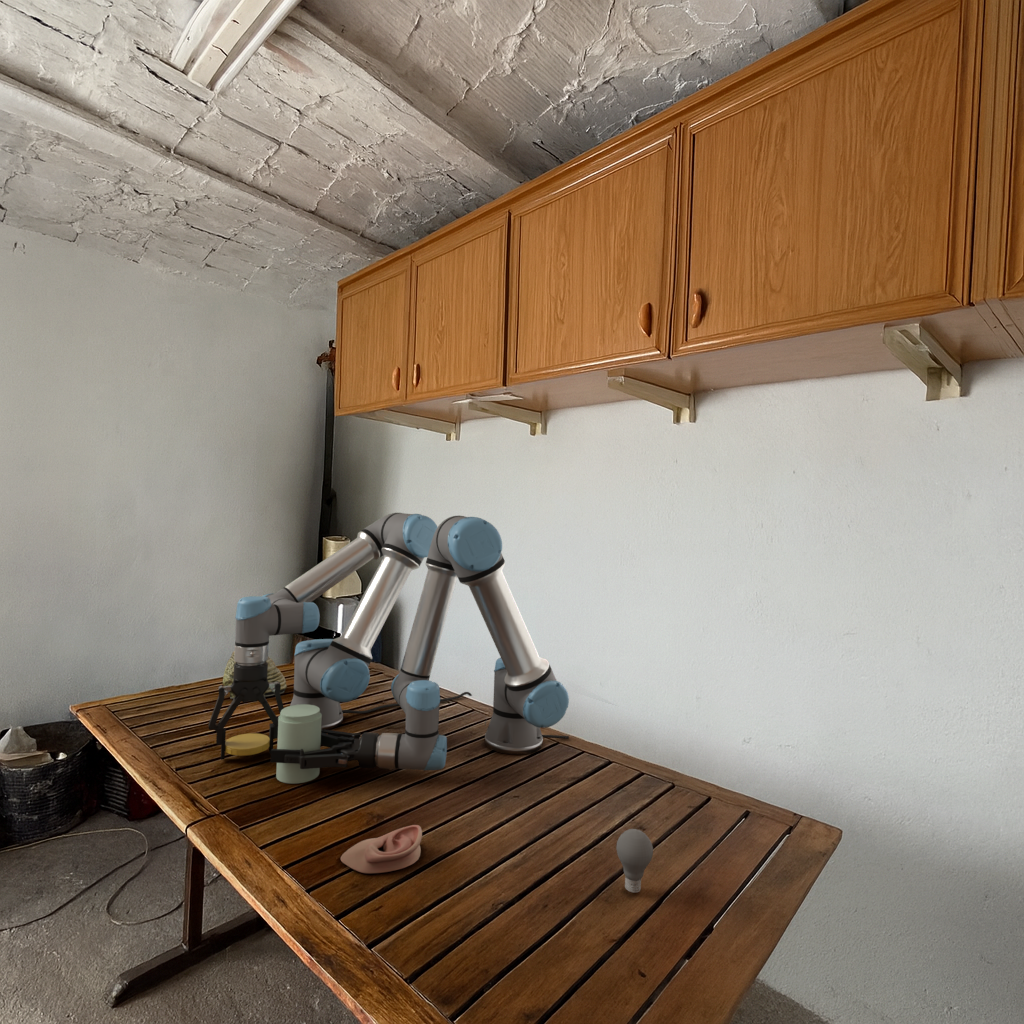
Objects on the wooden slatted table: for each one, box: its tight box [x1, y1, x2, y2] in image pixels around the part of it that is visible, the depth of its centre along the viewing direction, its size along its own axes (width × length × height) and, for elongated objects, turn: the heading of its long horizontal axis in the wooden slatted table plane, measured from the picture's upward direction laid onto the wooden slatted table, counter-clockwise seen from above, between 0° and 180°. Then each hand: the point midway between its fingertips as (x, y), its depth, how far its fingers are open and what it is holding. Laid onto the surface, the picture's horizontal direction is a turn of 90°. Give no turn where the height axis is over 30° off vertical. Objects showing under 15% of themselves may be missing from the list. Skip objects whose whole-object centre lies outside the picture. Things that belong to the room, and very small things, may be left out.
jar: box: [275, 704, 322, 785], centre depth 144 cm, size 9×9×15 cm
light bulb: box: [615, 828, 654, 894], centre depth 106 cm, size 6×6×10 cm
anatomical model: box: [340, 824, 423, 874], centre depth 112 cm, size 13×4×12 cm
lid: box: [225, 732, 270, 757], centre depth 152 cm, size 10×10×2 cm
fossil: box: [222, 650, 288, 699], centre depth 198 cm, size 9×18×15 cm, turn 132°
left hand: (247, 754), depth 152 cm, fingers closed on lid, 10 cm apart
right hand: (279, 746), depth 144 cm, fingers closed on jar, 9 cm apart
